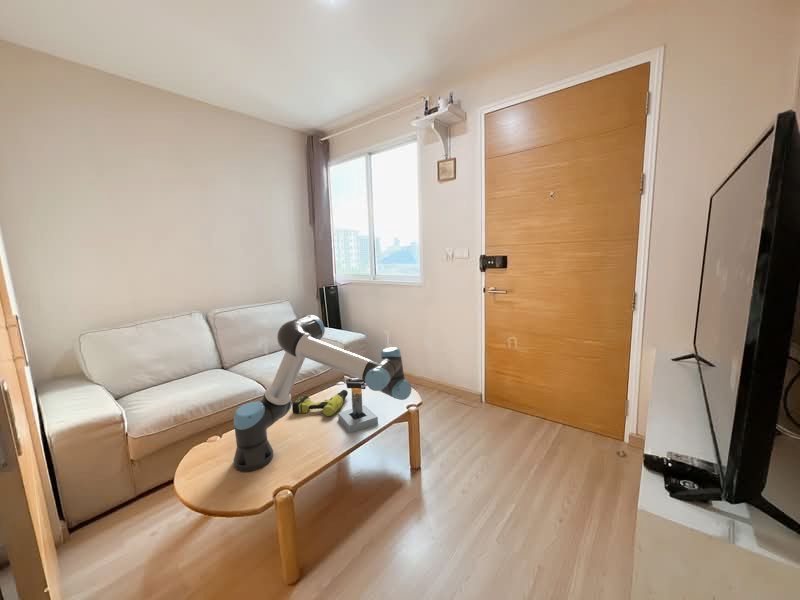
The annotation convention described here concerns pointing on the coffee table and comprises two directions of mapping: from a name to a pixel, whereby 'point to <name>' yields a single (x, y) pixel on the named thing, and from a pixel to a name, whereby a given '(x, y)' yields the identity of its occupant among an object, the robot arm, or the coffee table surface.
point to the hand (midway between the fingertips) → (358, 372)
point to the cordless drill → (319, 404)
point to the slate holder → (359, 423)
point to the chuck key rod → (357, 403)
